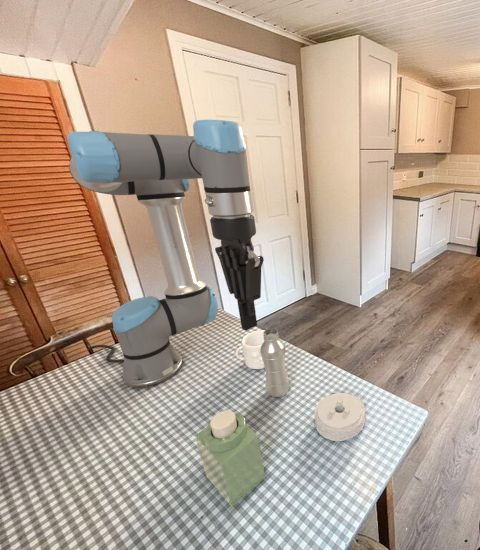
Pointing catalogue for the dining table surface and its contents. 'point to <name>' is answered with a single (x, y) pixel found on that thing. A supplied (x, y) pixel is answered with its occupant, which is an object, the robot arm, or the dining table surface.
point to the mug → (252, 349)
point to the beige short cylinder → (223, 424)
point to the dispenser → (232, 461)
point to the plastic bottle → (274, 364)
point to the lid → (339, 416)
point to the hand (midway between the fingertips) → (249, 326)
